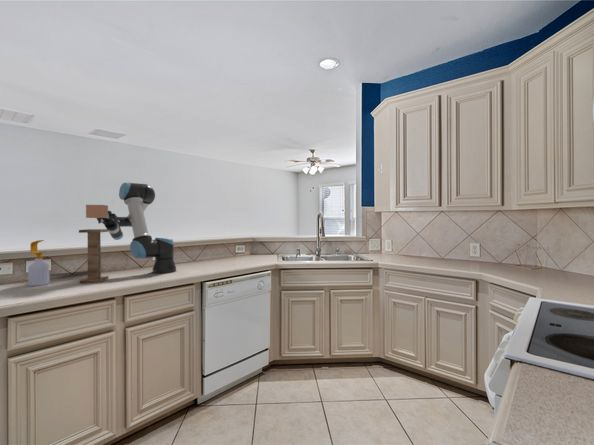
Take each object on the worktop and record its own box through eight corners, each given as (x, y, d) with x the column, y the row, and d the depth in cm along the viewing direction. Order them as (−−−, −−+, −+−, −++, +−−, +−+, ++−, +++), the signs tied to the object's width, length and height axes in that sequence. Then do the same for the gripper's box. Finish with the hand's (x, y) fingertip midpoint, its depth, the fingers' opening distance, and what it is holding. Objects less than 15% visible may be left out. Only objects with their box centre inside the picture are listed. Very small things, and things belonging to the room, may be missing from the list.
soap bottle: (40, 286, 172) (40, 240, 171) (23, 286, 172) (23, 240, 172) (53, 282, 181) (53, 239, 180) (37, 282, 181) (37, 239, 181)
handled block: (100, 218, 219) (100, 206, 219) (115, 218, 221) (115, 206, 221) (86, 217, 195) (85, 204, 195) (102, 217, 197) (102, 204, 197)
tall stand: (88, 279, 191) (87, 229, 190) (108, 278, 193) (108, 229, 193) (79, 283, 179) (78, 230, 179) (101, 282, 181) (100, 229, 181)
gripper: (124, 230, 228) (115, 214, 209) (97, 231, 224) (85, 214, 205) (125, 221, 232) (116, 204, 212) (99, 221, 228) (88, 204, 208)
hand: (101, 209), depth 208 cm, fingers closed on handled block, 4 cm apart
